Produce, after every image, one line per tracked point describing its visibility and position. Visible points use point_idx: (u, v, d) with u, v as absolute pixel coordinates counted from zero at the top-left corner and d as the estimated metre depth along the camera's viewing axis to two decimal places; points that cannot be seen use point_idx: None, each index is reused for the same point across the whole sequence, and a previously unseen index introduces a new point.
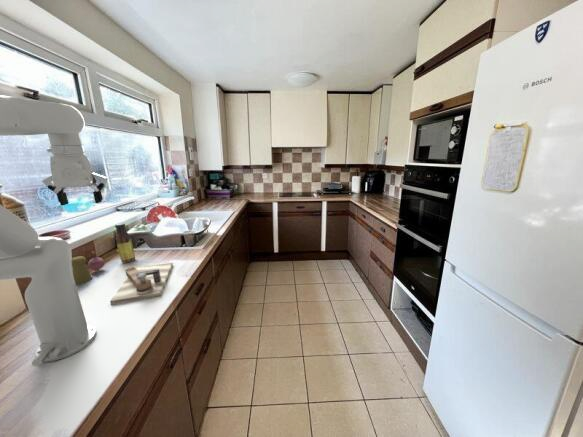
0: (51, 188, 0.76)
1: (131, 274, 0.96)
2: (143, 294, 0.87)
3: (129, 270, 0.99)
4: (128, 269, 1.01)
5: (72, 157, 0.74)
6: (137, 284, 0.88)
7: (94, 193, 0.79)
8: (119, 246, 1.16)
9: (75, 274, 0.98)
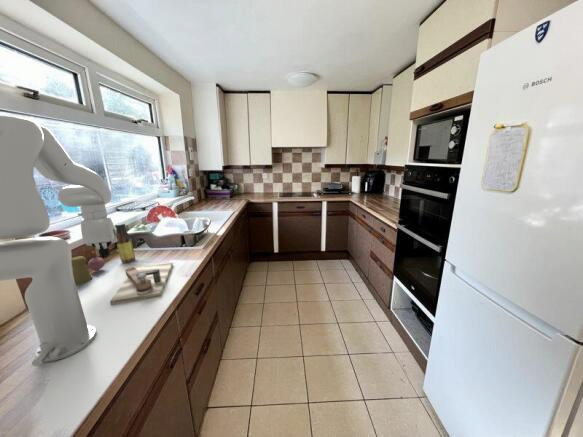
0: (94, 245, 0.95)
1: (131, 274, 0.96)
2: (143, 294, 0.87)
3: (129, 270, 0.99)
4: (128, 269, 1.01)
5: (98, 220, 0.92)
6: (137, 284, 0.88)
7: (103, 250, 0.96)
8: (119, 246, 1.16)
9: (75, 274, 0.98)
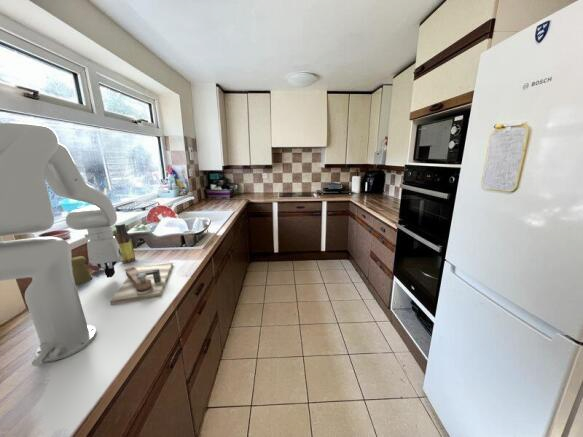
0: (100, 265, 0.97)
1: (131, 274, 0.96)
2: (143, 294, 0.87)
3: (129, 270, 0.99)
4: (128, 269, 1.01)
5: (104, 241, 0.94)
6: (137, 284, 0.88)
7: (108, 270, 0.98)
8: (119, 246, 1.16)
9: (75, 274, 0.98)
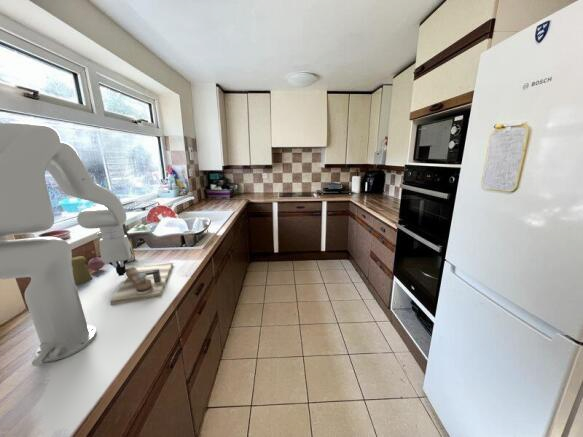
0: (112, 264, 0.98)
1: (131, 274, 0.96)
2: (143, 294, 0.87)
3: (129, 270, 0.99)
4: (128, 269, 1.01)
5: (116, 239, 0.95)
6: (137, 284, 0.88)
7: (120, 268, 0.99)
8: None
9: (75, 274, 0.98)
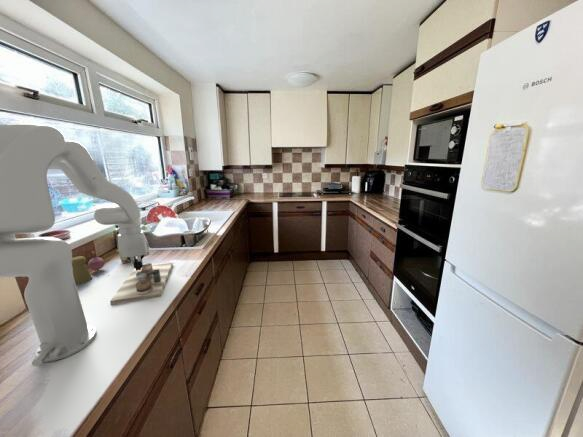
0: (129, 258, 1.01)
1: (142, 271, 0.99)
2: (143, 294, 0.87)
3: (145, 266, 1.03)
4: (145, 265, 1.04)
5: (134, 235, 0.98)
6: (137, 283, 0.89)
7: (137, 263, 1.02)
8: None
9: (75, 274, 0.98)
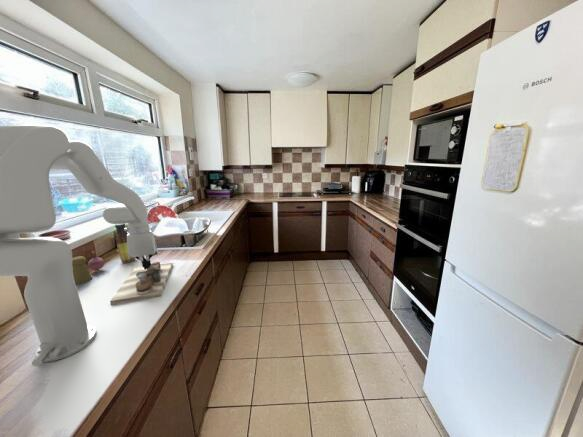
0: (138, 258, 1.02)
1: (148, 270, 1.00)
2: (143, 294, 0.87)
3: (152, 265, 1.04)
4: (154, 263, 1.06)
5: (143, 234, 0.99)
6: (137, 283, 0.89)
7: (146, 262, 1.03)
8: (119, 246, 1.16)
9: (75, 274, 0.98)
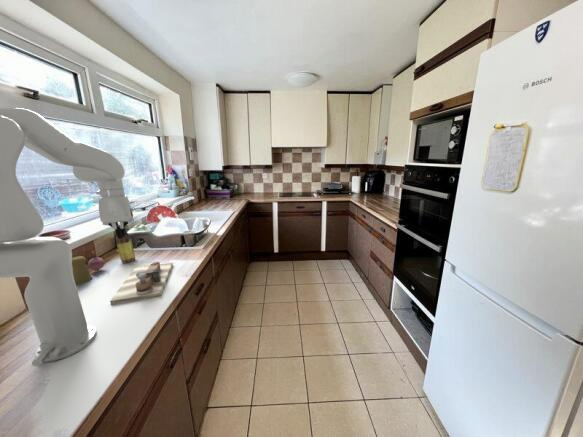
0: (111, 225, 0.94)
1: (148, 270, 1.00)
2: (143, 294, 0.87)
3: (152, 265, 1.04)
4: (153, 263, 1.06)
5: (116, 198, 0.91)
6: (137, 283, 0.89)
7: (120, 230, 0.94)
8: (119, 246, 1.16)
9: (75, 274, 0.98)
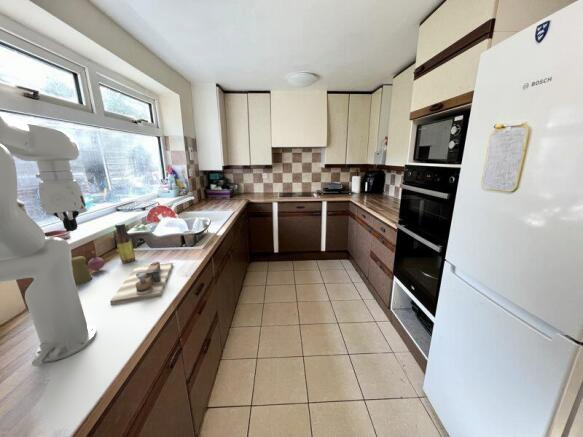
0: (57, 215, 0.78)
1: (148, 270, 1.00)
2: (143, 294, 0.87)
3: (152, 265, 1.04)
4: (153, 263, 1.06)
5: (61, 183, 0.75)
6: (137, 283, 0.89)
7: (68, 221, 0.79)
8: (119, 246, 1.16)
9: (75, 274, 0.98)
